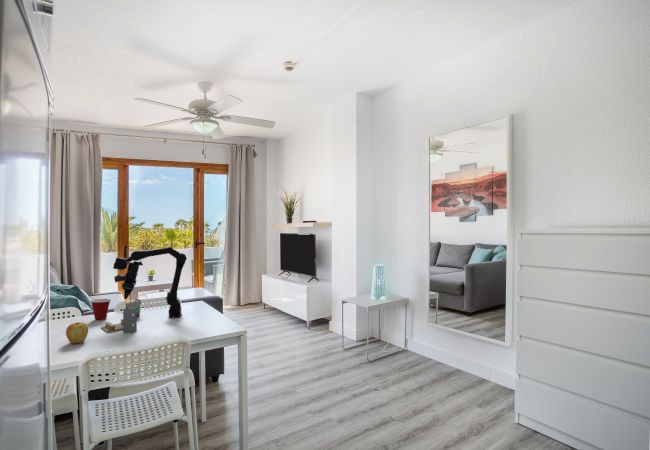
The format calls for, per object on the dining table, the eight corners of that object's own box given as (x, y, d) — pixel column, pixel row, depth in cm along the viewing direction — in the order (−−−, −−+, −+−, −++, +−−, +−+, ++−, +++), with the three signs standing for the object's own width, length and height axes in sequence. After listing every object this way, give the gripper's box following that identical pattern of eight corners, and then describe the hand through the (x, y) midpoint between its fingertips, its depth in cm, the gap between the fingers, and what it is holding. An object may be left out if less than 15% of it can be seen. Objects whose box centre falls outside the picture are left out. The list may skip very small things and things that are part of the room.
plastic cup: (114, 318, 226) (114, 299, 226) (95, 322, 217) (95, 302, 217) (106, 315, 232) (106, 296, 232) (87, 319, 224) (87, 299, 224)
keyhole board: (127, 323, 216) (127, 318, 216) (135, 327, 208) (135, 321, 208) (100, 328, 206) (100, 322, 206) (107, 332, 198) (107, 327, 198)
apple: (84, 338, 189) (84, 318, 189) (91, 342, 183) (90, 321, 183) (63, 343, 182) (63, 322, 182) (69, 347, 176) (69, 326, 176)
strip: (130, 330, 203) (130, 306, 203) (136, 331, 201) (136, 307, 201) (123, 332, 199) (123, 308, 198) (129, 333, 197) (129, 309, 197)
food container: (135, 320, 223) (135, 303, 223) (125, 320, 223) (124, 303, 223) (145, 314, 235) (145, 299, 235) (136, 314, 235) (135, 299, 235)
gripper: (119, 267, 226) (112, 292, 225) (115, 271, 209) (108, 298, 208) (139, 270, 231) (133, 295, 230) (136, 274, 214) (130, 301, 212)
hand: (126, 297), depth 220 cm, fingers open, 9 cm apart
